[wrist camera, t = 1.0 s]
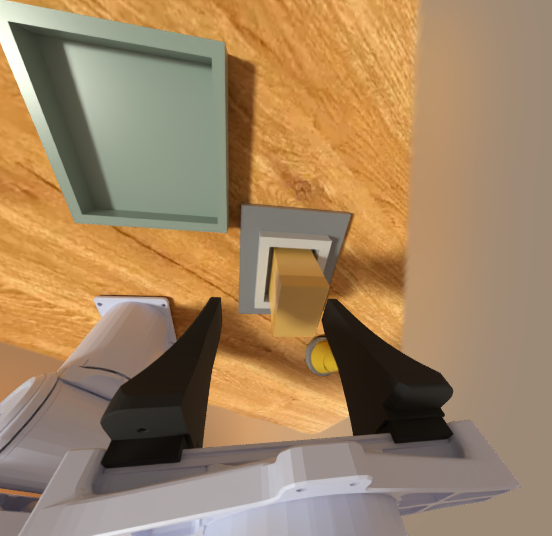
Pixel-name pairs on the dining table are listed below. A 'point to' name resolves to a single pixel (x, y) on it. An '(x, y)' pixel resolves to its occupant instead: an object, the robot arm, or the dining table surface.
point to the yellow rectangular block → (296, 292)
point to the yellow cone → (320, 357)
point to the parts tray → (125, 116)
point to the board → (283, 245)
